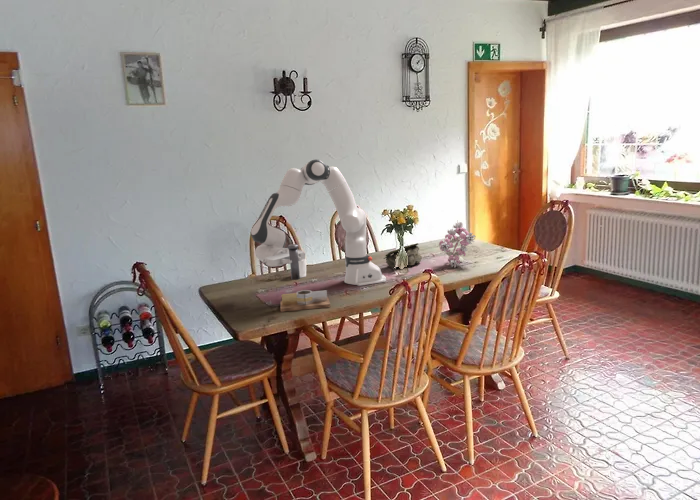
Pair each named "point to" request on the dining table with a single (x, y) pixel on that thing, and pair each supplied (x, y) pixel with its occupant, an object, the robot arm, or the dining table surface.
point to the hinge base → (305, 306)
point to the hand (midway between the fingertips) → (295, 260)
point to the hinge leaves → (304, 297)
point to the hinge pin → (294, 261)
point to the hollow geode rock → (411, 253)
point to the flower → (447, 244)
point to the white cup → (302, 268)
